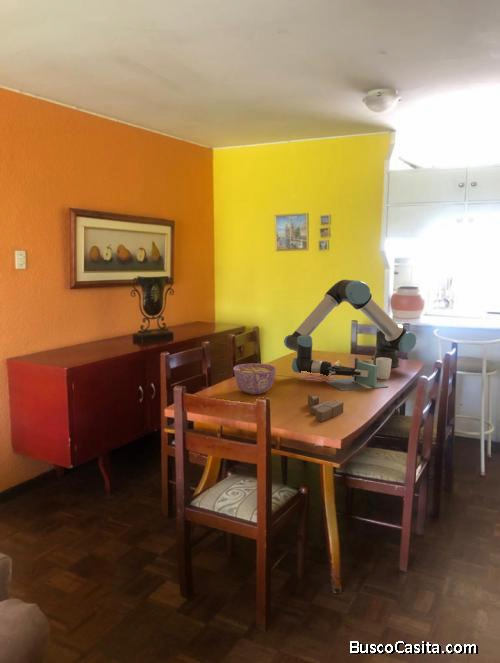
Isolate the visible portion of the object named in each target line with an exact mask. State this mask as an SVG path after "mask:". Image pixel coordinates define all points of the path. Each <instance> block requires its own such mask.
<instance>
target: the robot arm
mask: <svg viewBox="0 0 500 663" xmlns="http://www.w3.org/2000/svg"><path fill="white" fill-rule="evenodd" d="M372 297H373V294H372V293H371V289H370V286H369V285H368V284H367V283H366V282H364V281H361V280H356V279H355V280H352V279H341V280H339V281H337V282H336V283H334V285H332V286H331V287H330V288H329V289H328V290H327V291H326V293H325V294H324V298H322V300H320V302H319V303H318V304H317V306H315V308H314V309H313V310H312V312H311V311H310V312H311V313H309V315H308V316H307V317H306V318H305V319H304V320H303V321H302V323H301V324H300V325H299V326H298V327H297V329H295V331H293V333H291V334H288V335H286V336H285V337H284V340H283V343H284V346H285V347H286V348H287V349H288V350H290V351H293V352H296V354H297V355H296V357H295V358H294V359H293V360H292V364H291V369H292V371H293V372H294V373H298V374H301V371H307V372H310V373H311V372H312V373H320V374H323V375H326V376H328V375H329V373H331V374H330V376H342V377H343V376H345V377H346V376H347V377H351V378H354V376H362V377H368V376H369V371H365V370H357V369H356V368H355V367H349V366H344V365H341V364H340V365H337V364H335V365H332V363H331V361H326V360H325V361H324V360H318V359H317V360H316V359H313V358H312V357H313V338H312V336H311V335H312V334H313V332H314V331H315V330H316V329H317V328H318V327H319V326H320V324H322V322H323V321H324V320H325V319H326V318H327V316H329V314H331V312H332V311H333V309H335V308H336V307H339V306H340V305H341V304H342V303H343V302H345V303H349V305H350V306H352V307H353V308H354V309H355V310H359V311H361V312H362V313H363V314H364V315H365V316H366V317H367V319H369V320H370V322H371V323H372V324H374V326H376V327H377V328H376V332H375V333H376V335H375V337H376V338H375V352H374V354H373V357H375V366H376V358H380V357H384V358H390V359H392V361H391V368H397V367H400V360H399V356H398V353H397V351H399V352H400V353H410V352H412V351H413V350H414V349H415V347H416V344H417V336H416V334H415V333H414V332H412V331H409V330H407V329H406V328H405V327H404V326H403V325H402V324H401V323H396V322H395V320H393V318H391V316H389V314H387V312H386V311H384V309H382V307H381V306H380V305H379V304H378V303H377V301H375V300H374V299H373V298H372ZM326 376H325V377H326ZM328 377H329V376H328Z"/></svg>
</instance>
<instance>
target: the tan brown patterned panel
mask: <svg viewBox="0 0 500 663" xmlns="http://www.w3.org/2000/svg"><path fill="white" fill-rule="evenodd" d="M357 361H361V362H364V363H368V364H372V365H375V357H374V356H372V357H371V359H359V357H358V358H357V357H356V358H354V368H356V369H357ZM353 378H354V381H356V376H354V377H353Z"/></svg>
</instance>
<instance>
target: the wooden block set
mask: <svg viewBox="0 0 500 663" xmlns="http://www.w3.org/2000/svg"><path fill="white" fill-rule="evenodd" d="M307 405H308V407H309V408H308V409H309V410H308V412H309V414H310V415H312V416H315V417H314V418H315V420H316V421H317V422H319V423H323V422H325V421H327V420H329V419H333V418H335V417H337V416H339V415H341V414H342V413H344V405H345V404H344V402H343V401H338V400H331V401H328V400H325V401H322V402H320V396H315V395H312V394H311V395H310V394H308V395H307Z"/></svg>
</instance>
